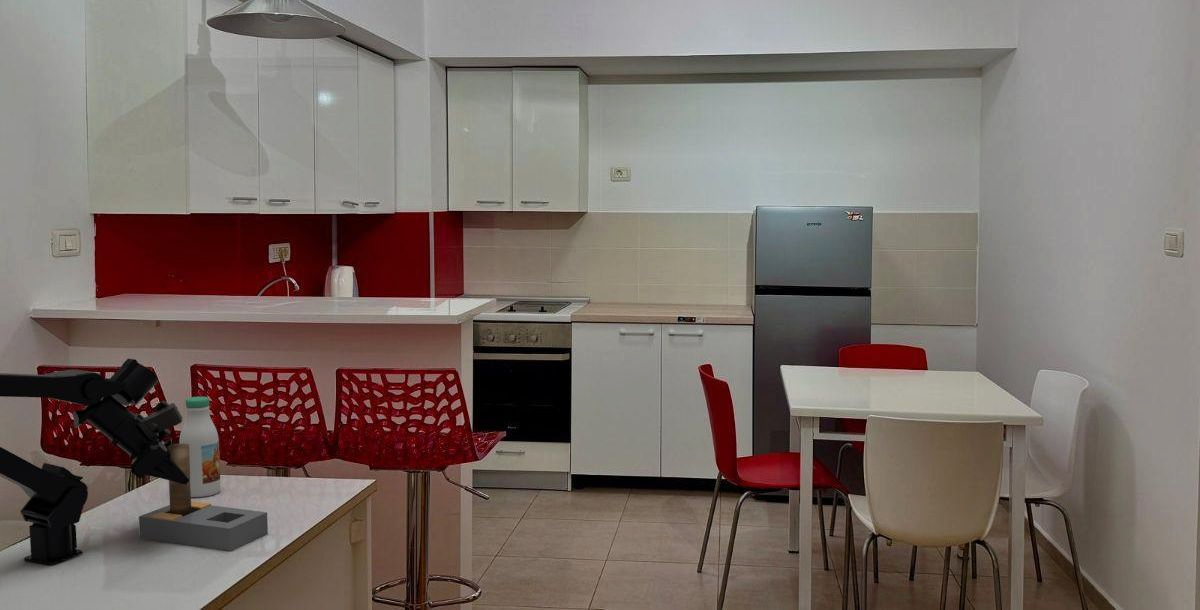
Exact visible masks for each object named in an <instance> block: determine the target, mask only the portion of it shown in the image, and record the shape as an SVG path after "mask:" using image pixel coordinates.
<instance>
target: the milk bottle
mask: <svg viewBox="0 0 1200 610" xmlns="http://www.w3.org/2000/svg"><path fill="white" fill-rule="evenodd" d="M210 408H211V407H210V398H209V397H208V396H192V397H187V398H186V399H185V410H186V412H187V413H186V418H185V421H184V422H183V423H184V424H183V426H182V429H181V431H180V433H179V434H180V435H179V440H178V441H179V443H178V444H181V443H184V444H189V454H190V484H191V498H203V497H204V498H205V497H209V496H213V495H216V494H218V493H220V491H221V488H222V487H221V481H222V480H221V461H220V457H221V456H220V442H219V441H220V439H219V434H218V430H217V427H216V426H215V424H214V422H213V420H212V418H211V415H210V412H209V410H210Z"/></svg>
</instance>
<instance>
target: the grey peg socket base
mask: <svg viewBox="0 0 1200 610" xmlns="http://www.w3.org/2000/svg"><path fill="white" fill-rule="evenodd" d="M268 524H269V523H268V512H267V511H260V510H252V509H243V508H235V507H230V506H229V507H227V506H219V505H214V504H213V505H212V503H209V502H201V501H200V502H199V501H193V500H191V513H190V514H188V515H185V516H183V517H182V515H178V514H171V513H170V504H168V505H165V506H163V507H161V508H160V507H159V508H158V509H155V510H153V511H150V512H147V513H145V514H142V515H139V516H138V527H139V530H138V531H139V539H142V540H143V539H144V540H150V541H151V540H152V541H158V542H165V543H173V544H178V545H183V546H184V545H186V546H193V547H199V548H207V549H213V550H219V551H228V552H232V551H234V550H237V549H238V548H240V547H242V546H245V545H246V544H249V543H252V542H253V541H255V540H258V539H260V538H262V537H264V536H266V535H268V534H269V530H268V529H269V527H268Z"/></svg>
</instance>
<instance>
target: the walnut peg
mask: <svg viewBox="0 0 1200 610" xmlns="http://www.w3.org/2000/svg"><path fill="white" fill-rule="evenodd" d="M169 446H170V455H171V459H172V460H173V461H174V462H175V463H176V464H177V466H178V467H179V468H180V469H181V470H182V471H183V472H184V474H185V475H186V476H187V477H188V478H189V482H188V483H187V484H181V483H177V482H173V481H170V480H168V489H169V490H168V493H169V505H170V513H171V514H178V515H182V517H183V516H185V515H188V514H190V513H191V501H192V497H191V484H190V454H189V444H184V443H181V444H179V443H172V445H169ZM169 446H168V447H169Z"/></svg>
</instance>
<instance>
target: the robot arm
mask: <svg viewBox="0 0 1200 610" xmlns="http://www.w3.org/2000/svg"><path fill="white" fill-rule="evenodd" d="M158 383H159V378H158V376H157V375H156V373H155V371H153V370H150V369H149V368H148V367H146V366H145V365H143V364H141V363H139V362H138V360H136V359H134V358H126V360H125V361H123V363H122V365H121V366H120V368H118V370H117V371H115V372H114V374H113V375H111V377H110V378H108V377H107V378H106V377H103V375H102V374H101V373H98V372H94V371H89V370H88V371H87V370H80V369H67V370H59V371H53V372H50V373H45V374H32V373H31V374H30V373H29V374H28V373H9V372H8V373H7V372H5V373H3V372H0V397H3V398H4V397H5V398H6V397H7V398H9V397H11V398H18V397H19V398H42V399H43V398H44V399H45V398H46V399H52V400H56V401H62V402H66V403H70V404H71V403H72V404H77V405H82V406H83V405H84V407H83V408H82V409H80V410H79V409H76V410H74V411H73V412H72V416H73V427H74V428H75V429H77V428H79V427H80V426H82V425H83V424H85V422H86V421H87V422H88V423H89V424H91V425H92V426H93V427H94V428H95V429H96V430H98V431H99V432H101V434H103V435H104V436H105V437H106V438H108V439H109V440H110V444H111V445H112V446H113V447H116V446H118V447H120V448H121V449H122V450H123V451H124V452H126V453H127V454H128V455H129V459H130V460H132V461H131V464H130V467H131V468H130V469H131V471H130V472H131V473H132V474H133V475H135V476H136V478H138V479H139V480H141V479H142V478H143V477H145V476H148V477H154V478H158V479H163V480H165V481H166V480H167V481H169V480H170V481H173V482H177V483H181V484H187V483H188V482H189V478H188V477H187V476H186V475H185V474H184V472H183V471H182V470H181V469H180V468H179V467H178V466H177V464H176V463H175V462H174V461H173V460H172V459H171V455H170V446H169V445H172V444H173V441H172V439H173V438H172V437H169V436H170V434H171V430H170V429H169V428H171V427H175V426H178V425H181V423H182V422H183V416H182V414H181V413H180V411H179V408H178V406H177V405H176V404H175V403H173V402H172V403H170V404H169V403H168V402H167V401H165V400H162V401H161V402H158V403H156V404H155V411H154V412H151V414H149V415H147V416H145V417H144V416H143V415H142V414H140V413H135V414H134V413H133V412H132V411H130V410H129V409H128V408H127V407H128V406H129V405H131V406H137V405H138V404H139V403H140V402H141V401H142V400H143V399H144V398H145V397H146V395H148V394H149V393H150V391H151V390H152V389H153V388H154V387H155V386H156V385H157V384H158ZM165 437H169V438H168V439H167V440H166V441H163V440H164V438H165ZM168 446H169V447H168ZM0 477H1V478H3V479H5V480H7V481H9V482H11V483H12V484H15V485H17V486H18V487H20V488H21V489H22V490H23V492H24V493H25V494H26V495H27V496H28V497H29V500H28V501H27V502H26V503H25V505H24V506H23V507H22V508H21V510H20V514H21V517H22V518H23V520H24V522H28V523H29V522H30V523H32V524H31V525H29V527H28V530H29V544H30V545H29V546H30V554H29V555H26V556H24V557H23V560H24V561H26V562H31V563H37V564H44V565H51V566H52V565H57V564H58V563H61V562H63V561H66V560H69V559H71V558H73V557H77V556H79V555H81V554H83V553H84V552H83V549H78V548H77V547H78V543H77V542H78V540H77V526H76V524H77V523H79V522H80V520H81V516H82V513H83V510H84V507H85V505H86V502H87V500H88V495H89V492H88V489H89V488H88V485H87V484H86V483H85V482H84V481H83V479H84V477H83V476H81V475H76V474H73V473H72V472H71V471H69V470H68V469H67V468H65V467H64V466H59V465H57V464H56V465H55V464H52V463H47V462H43V464H42V466H41V467H38V466H37V465H35V464H33V463H31V462H30V461H27V459H24V458H22V457H20V456H18V455H16V454H14V453H13V452H11V451H10V450H7V449H5V448H3V447H2V446H0Z"/></svg>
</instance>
